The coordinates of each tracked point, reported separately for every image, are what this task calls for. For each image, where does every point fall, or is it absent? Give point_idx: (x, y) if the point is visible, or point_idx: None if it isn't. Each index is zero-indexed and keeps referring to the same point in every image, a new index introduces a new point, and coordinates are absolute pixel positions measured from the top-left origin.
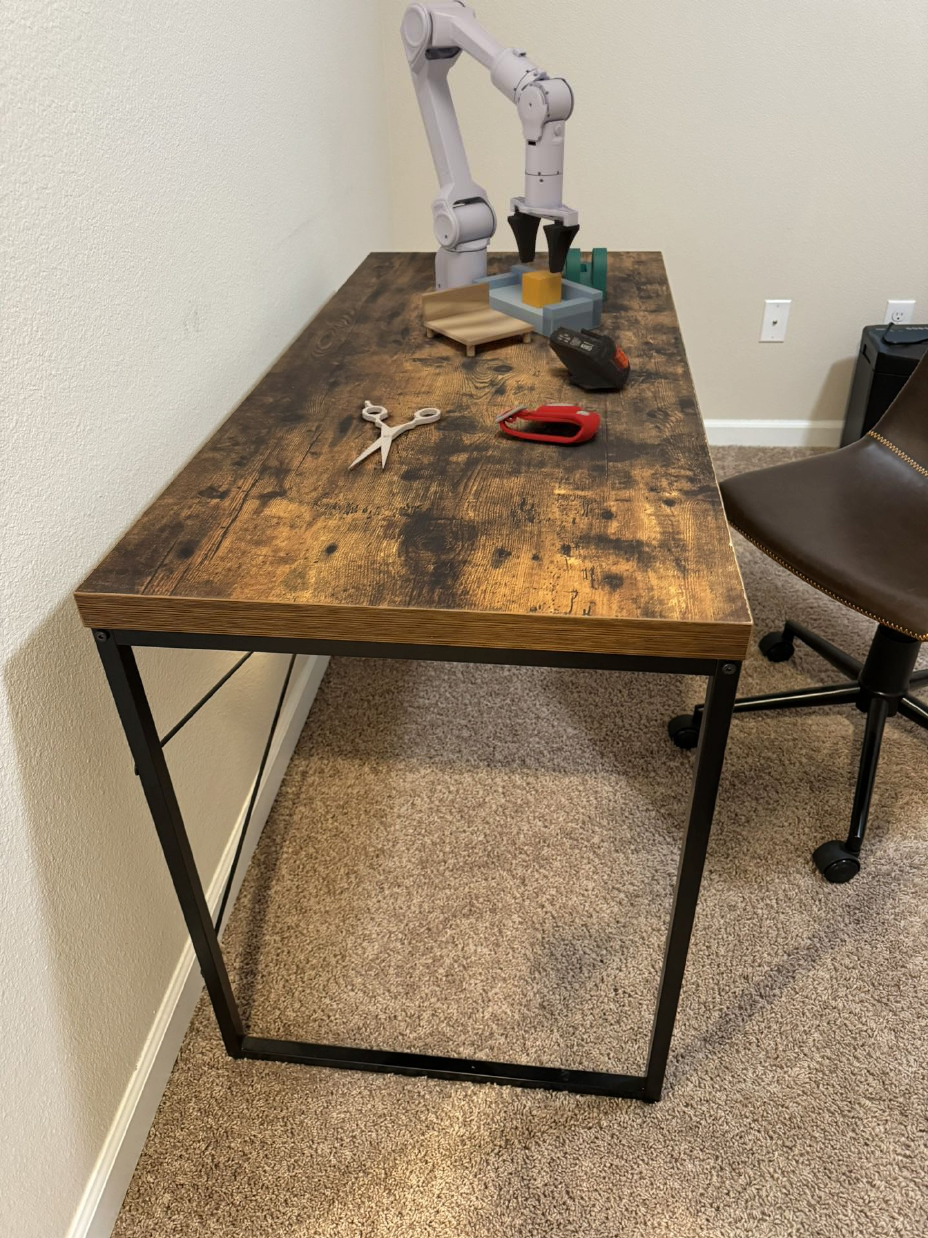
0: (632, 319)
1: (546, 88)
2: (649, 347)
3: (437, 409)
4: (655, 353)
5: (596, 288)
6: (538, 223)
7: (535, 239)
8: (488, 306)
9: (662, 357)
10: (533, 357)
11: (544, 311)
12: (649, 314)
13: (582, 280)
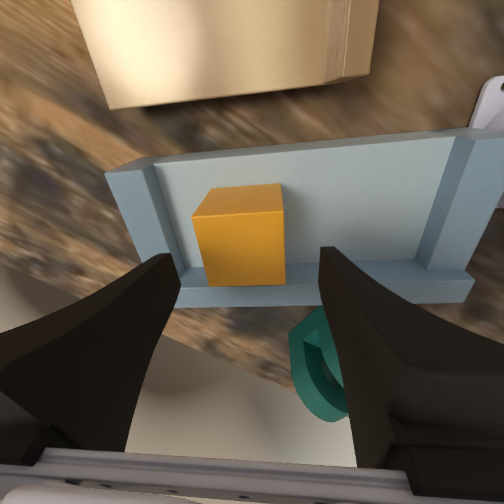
0: (190, 313)
1: None
2: (59, 263)
3: None
4: (29, 255)
5: (298, 341)
6: (351, 420)
7: (336, 345)
8: (323, 79)
9: (10, 252)
10: (17, 35)
11: (140, 167)
12: (200, 336)
13: None
